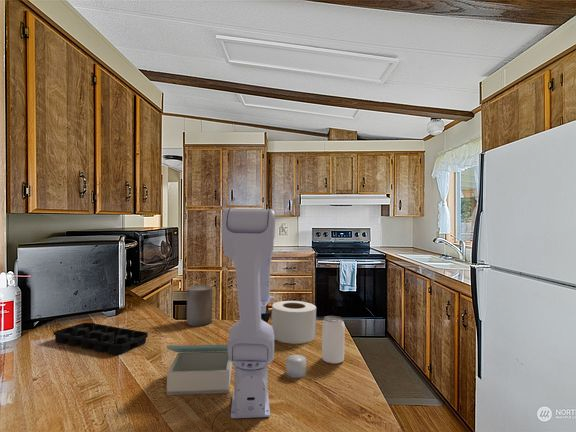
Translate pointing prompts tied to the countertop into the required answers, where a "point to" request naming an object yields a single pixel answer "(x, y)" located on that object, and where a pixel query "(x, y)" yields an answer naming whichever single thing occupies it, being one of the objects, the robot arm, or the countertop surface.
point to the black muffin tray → (101, 338)
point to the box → (199, 373)
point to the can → (333, 339)
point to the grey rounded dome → (296, 366)
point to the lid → (198, 348)
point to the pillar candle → (199, 305)
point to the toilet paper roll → (294, 321)
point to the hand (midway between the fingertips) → (258, 330)
